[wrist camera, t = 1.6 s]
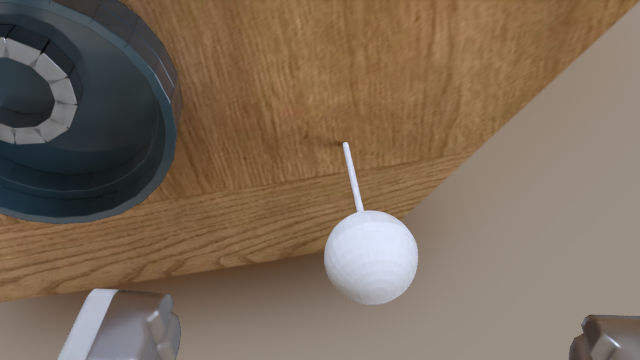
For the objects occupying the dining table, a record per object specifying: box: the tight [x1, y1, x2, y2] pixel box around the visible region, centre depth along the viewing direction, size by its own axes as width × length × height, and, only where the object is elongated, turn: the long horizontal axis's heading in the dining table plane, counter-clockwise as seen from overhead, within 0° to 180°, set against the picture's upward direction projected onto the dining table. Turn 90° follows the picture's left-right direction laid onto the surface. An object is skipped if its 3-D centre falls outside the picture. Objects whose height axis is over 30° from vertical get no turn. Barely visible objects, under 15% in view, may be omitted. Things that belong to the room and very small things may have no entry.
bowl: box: [0, 0, 182, 224], centre depth 37 cm, size 17×17×4 cm
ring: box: [0, 25, 84, 145], centre depth 37 cm, size 8×8×2 cm
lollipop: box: [324, 142, 418, 305], centre depth 38 cm, size 6×6×15 cm
